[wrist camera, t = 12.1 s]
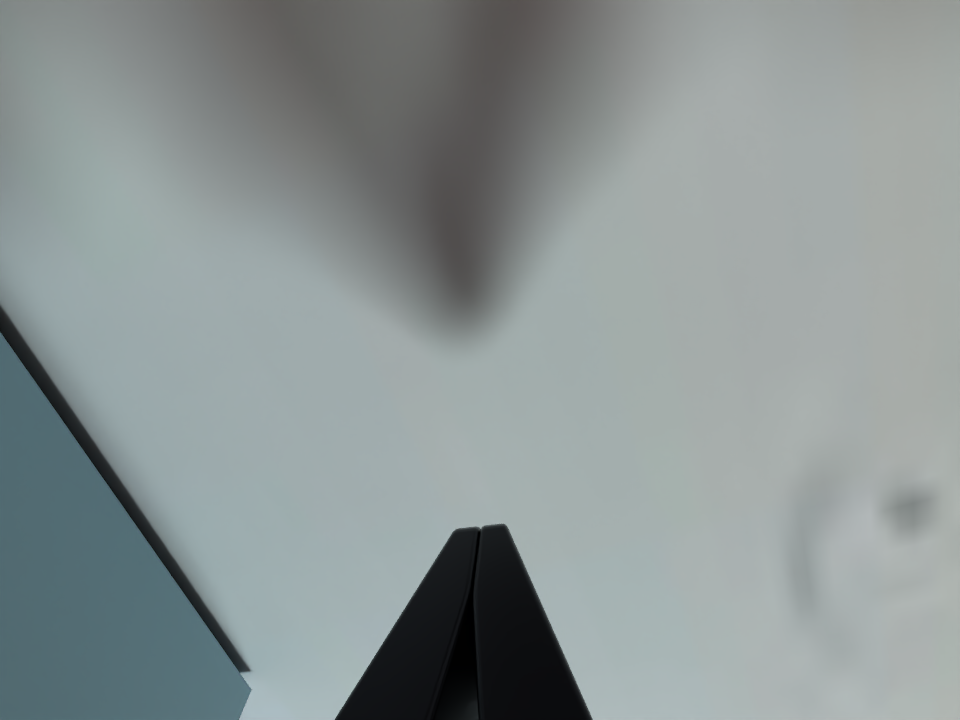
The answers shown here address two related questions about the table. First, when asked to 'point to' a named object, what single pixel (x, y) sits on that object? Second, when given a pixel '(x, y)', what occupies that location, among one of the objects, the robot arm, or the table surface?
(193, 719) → the tray
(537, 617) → the robot arm
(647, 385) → the table surface
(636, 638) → the table surface
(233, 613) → the table surface
